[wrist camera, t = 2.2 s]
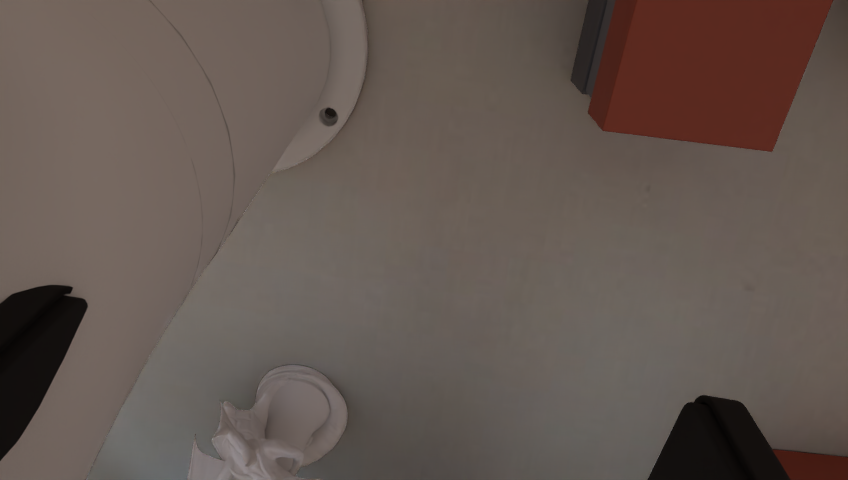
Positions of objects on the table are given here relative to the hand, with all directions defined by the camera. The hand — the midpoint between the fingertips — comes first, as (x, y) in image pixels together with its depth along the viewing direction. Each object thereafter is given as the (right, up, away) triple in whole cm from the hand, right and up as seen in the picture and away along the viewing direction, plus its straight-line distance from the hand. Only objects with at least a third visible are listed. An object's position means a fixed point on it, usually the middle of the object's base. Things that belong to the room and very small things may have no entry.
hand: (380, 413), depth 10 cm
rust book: (+11, +12, +13) cm, 20 cm away
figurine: (-7, -5, +27) cm, 28 cm away
